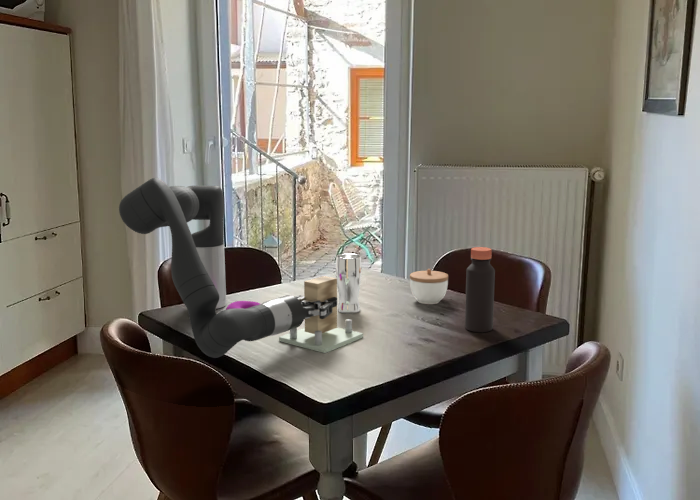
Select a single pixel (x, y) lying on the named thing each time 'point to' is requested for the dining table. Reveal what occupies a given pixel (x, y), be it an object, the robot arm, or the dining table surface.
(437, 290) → the lidded jar
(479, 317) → the bottle
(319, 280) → the oak block
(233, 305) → the donut
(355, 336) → the peg stand
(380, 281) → the dining table surface
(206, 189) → the robot arm
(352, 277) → the shiny metal tumbler
